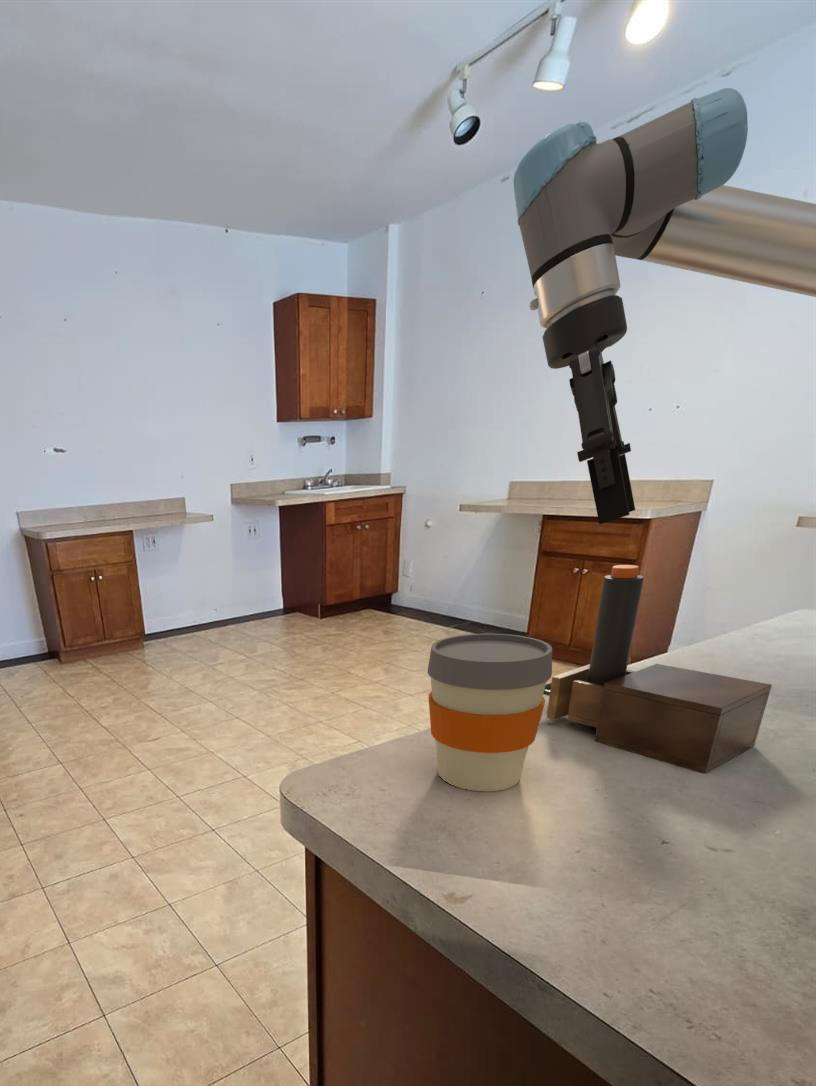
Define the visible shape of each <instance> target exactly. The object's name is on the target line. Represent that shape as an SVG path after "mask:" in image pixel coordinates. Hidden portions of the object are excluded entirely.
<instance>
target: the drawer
mask: <svg viewBox="0 0 816 1086" xmlns="http://www.w3.org/2000/svg"><path fill="white" fill-rule="evenodd" d="M589 667H590V663H589V664H586V665H583V666H580V667H578V668H574V669H570V670H568V671H565V672H563V673H559V674H557V675H554V676H553V675H552V676H551V681H547V682H546V685H545V689H544V693H543V696H548V704H547V711H546V719H549V720H552V721H556V720H559V719H561V718H564V717H566V716H567V718H566V720H567V721H571V722H574V723H577V724H581V725H584V726H589V727H592V728H596V729H597V724H598V718H599V712H600V707H601V701H602V695H603V690H604V686H602V685H597V684H593V683H588V682H587V679H588V673H589ZM636 671H637V670H631V669H627V670H626V675H628V674H630V673H633V672H636Z"/></svg>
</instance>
